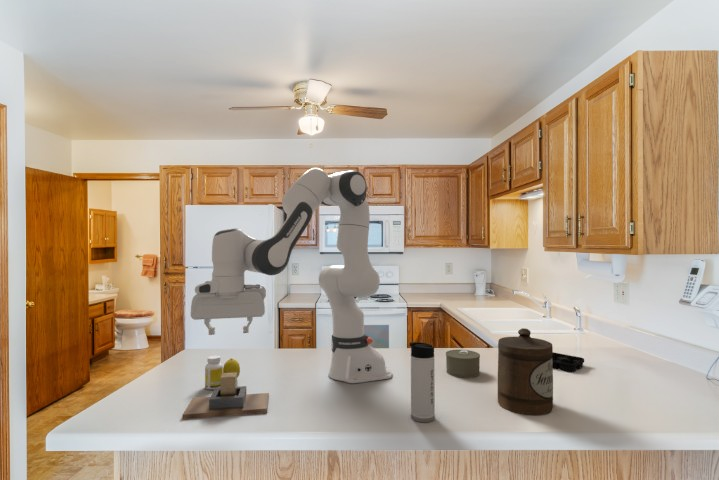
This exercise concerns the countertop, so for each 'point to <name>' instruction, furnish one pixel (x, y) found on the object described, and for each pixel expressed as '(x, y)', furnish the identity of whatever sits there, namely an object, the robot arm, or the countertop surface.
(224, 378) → the square bar
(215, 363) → the supplement bottle
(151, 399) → the countertop surface
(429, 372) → the travel mug
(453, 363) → the can
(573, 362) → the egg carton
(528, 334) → the wooden container
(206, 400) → the dock board
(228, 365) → the lemon
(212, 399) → the collar
